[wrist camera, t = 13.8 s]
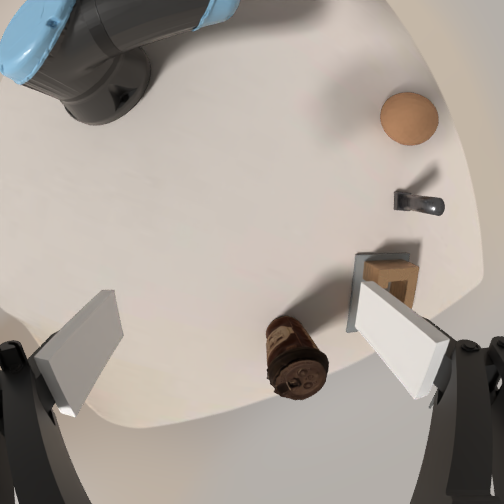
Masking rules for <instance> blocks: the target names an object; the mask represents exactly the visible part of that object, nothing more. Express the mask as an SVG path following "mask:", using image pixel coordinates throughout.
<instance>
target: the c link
mask: <svg viewBox="0 0 504 504" xmlns="http://www.w3.org/2000/svg"><path fill="white" fill-rule="evenodd" d="M418 272H419V267H418V266H416V265H414V264H412V263H410V262H408V261H405V260H403V259H396V260H376V261H364V270H363V279H364V280H365V281H366V282H368V281H374V282H375V283H376V284H378V285H379V286H381V287H382V288H383V289H384V288H388V282H391V284H390V291H389V293H390V294H392V295H393V296H394V297H396V298H397V299H398V300H400V301H401V302H402V303H404V304H405V305H406V306H408V307H409V308H410V309H412V305H413V300H414V295H415V290H416V284H417V278H418Z"/></svg>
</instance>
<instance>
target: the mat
mask: <svg viewBox="0 0 504 504" xmlns="http://www.w3.org/2000/svg"><path fill="white" fill-rule="evenodd" d="M409 255H410V254H409V253H390V254H359V255H355V265H354V275H353V284H352V293H351V301H350V308H349V315H348V322H347V328H346V332H347V333H350V332H357V331H358V330H357V329H356V328H355V322H356V316H357V310H358V303H359V295H360V287H361V282H366V281H365V280H364V279H363V270H364V261H376V260H396V259H403V260H405V261H408V262H409ZM390 284H391V282H388V288H384V289H385V290H386V291H387V292H389V291H390Z"/></svg>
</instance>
